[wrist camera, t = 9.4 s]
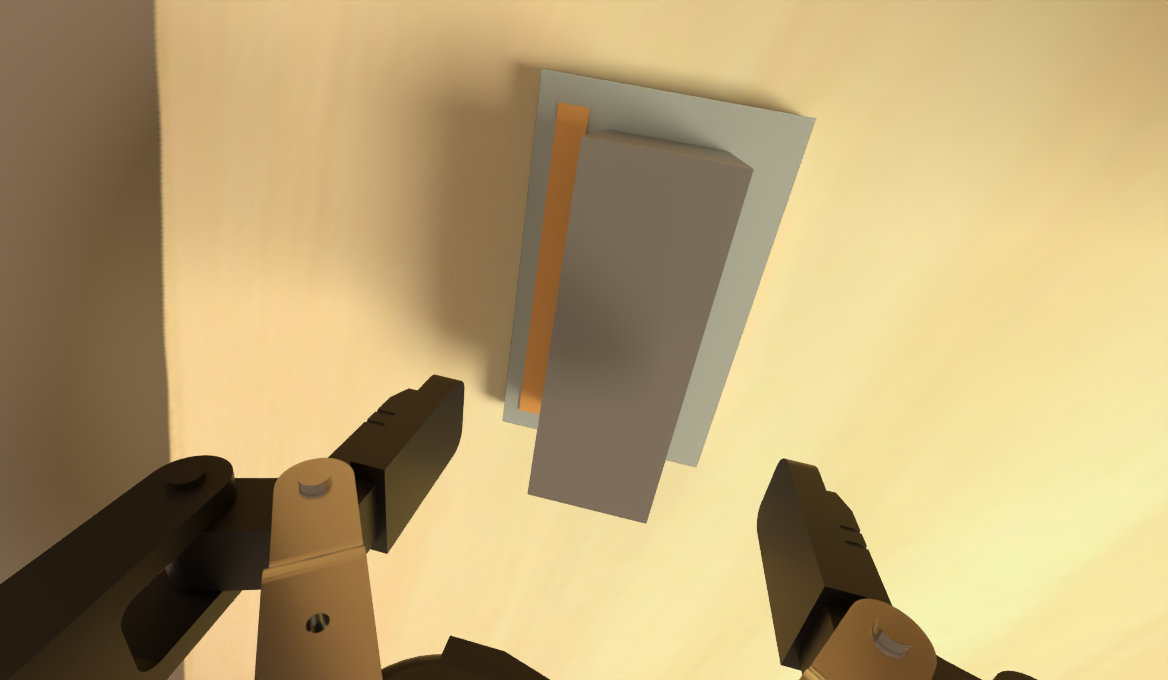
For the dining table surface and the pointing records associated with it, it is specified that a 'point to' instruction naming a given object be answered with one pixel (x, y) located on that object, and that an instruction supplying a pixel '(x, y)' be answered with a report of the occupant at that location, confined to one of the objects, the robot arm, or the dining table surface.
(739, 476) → the dining table surface
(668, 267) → the block
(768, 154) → the board
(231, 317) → the dining table surface
